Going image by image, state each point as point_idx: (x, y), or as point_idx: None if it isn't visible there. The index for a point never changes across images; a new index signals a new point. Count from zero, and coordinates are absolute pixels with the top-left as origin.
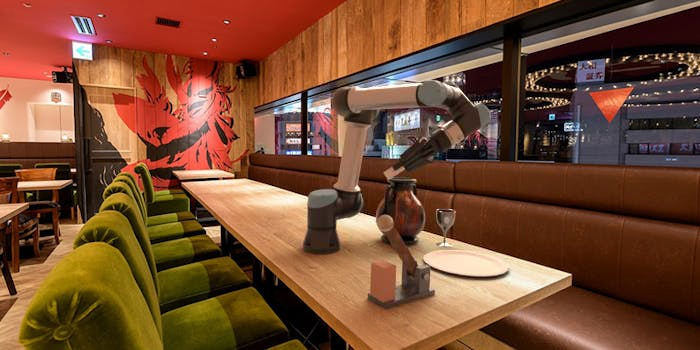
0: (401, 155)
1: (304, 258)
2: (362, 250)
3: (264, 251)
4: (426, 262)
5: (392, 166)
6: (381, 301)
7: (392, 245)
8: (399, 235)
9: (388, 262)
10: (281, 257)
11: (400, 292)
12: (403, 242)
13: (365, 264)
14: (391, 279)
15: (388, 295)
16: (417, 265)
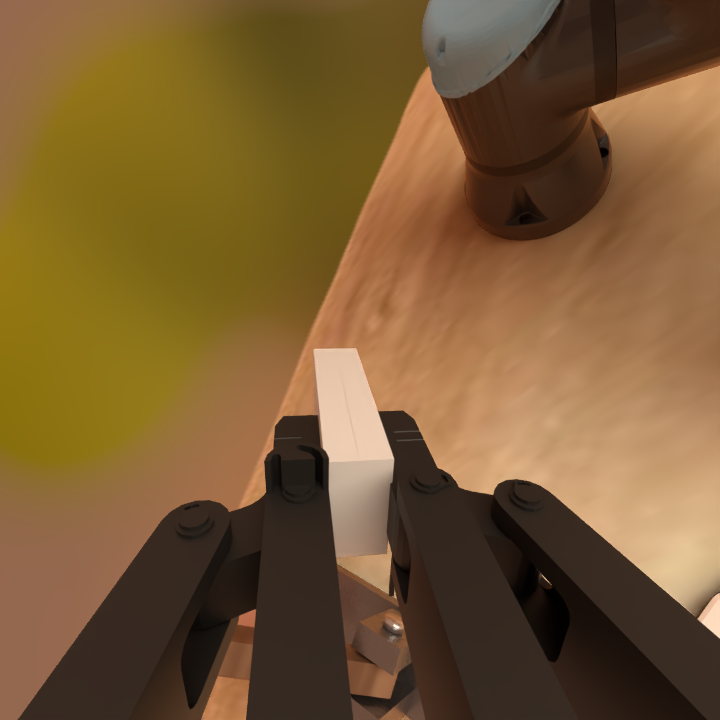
0: (159, 542)
1: (424, 237)
2: (651, 270)
3: (397, 140)
4: (715, 600)
5: (281, 422)
6: None
7: (244, 628)
8: None
9: None
10: (391, 201)
11: (348, 627)
12: (240, 677)
13: (512, 390)
14: None
15: None
16: (352, 692)
